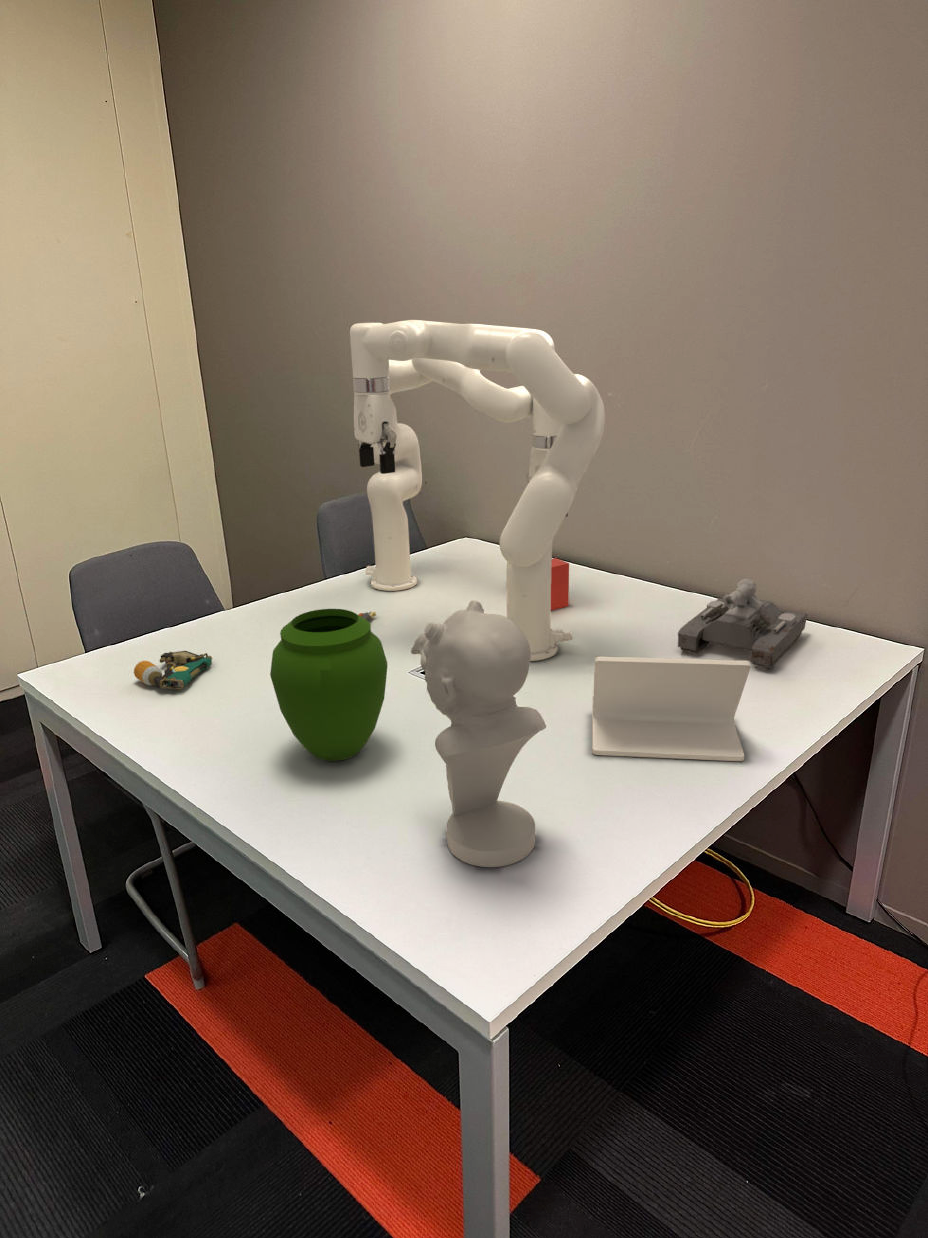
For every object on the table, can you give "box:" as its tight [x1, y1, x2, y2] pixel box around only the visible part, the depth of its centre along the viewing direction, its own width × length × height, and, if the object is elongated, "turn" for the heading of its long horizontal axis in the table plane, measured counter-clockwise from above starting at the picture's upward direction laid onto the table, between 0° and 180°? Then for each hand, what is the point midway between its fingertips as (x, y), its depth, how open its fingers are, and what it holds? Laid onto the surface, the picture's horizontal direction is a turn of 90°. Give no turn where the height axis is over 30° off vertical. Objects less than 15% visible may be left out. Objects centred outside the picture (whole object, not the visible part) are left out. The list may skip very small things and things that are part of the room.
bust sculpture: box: [410, 599, 547, 868], centre depth 121 cm, size 16×24×35 cm
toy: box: [677, 578, 808, 669], centre depth 186 cm, size 25×20×15 cm
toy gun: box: [357, 611, 377, 622], centre depth 203 cm, size 3×19×10 cm
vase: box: [269, 608, 388, 762], centre depth 144 cm, size 20×20×24 cm
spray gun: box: [133, 650, 213, 690], centre depth 180 cm, size 4×17×15 cm
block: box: [551, 557, 570, 612], centre depth 213 cm, size 6×9×11 cm, turn 122°
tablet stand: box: [591, 656, 752, 762], centre depth 148 cm, size 18×25×17 cm
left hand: (549, 513), depth 206 cm, fingers open, 9 cm apart
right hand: (377, 469), depth 181 cm, fingers open, 9 cm apart
